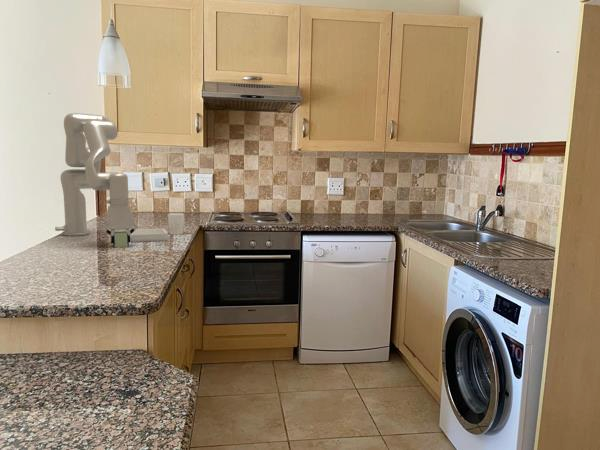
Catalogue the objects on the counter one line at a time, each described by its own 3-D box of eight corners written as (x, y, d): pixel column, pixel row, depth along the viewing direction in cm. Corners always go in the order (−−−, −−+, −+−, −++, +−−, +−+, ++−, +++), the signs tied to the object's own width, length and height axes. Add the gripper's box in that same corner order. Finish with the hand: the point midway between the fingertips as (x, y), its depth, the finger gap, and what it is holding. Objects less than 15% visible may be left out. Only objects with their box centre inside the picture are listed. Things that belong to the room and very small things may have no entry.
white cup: (165, 234, 242) (164, 214, 241) (175, 232, 249) (175, 212, 248) (177, 235, 239) (176, 215, 237) (187, 233, 246) (187, 213, 244)
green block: (115, 247, 206) (114, 233, 205) (114, 245, 211) (113, 231, 210) (127, 246, 208) (127, 232, 207) (126, 244, 213) (126, 231, 212)
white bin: (131, 242, 218) (131, 234, 217) (128, 237, 232) (128, 229, 232) (168, 240, 224) (167, 233, 224) (163, 235, 239) (162, 228, 238)
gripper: (97, 204, 200) (99, 247, 202) (141, 202, 207) (142, 244, 209) (97, 202, 207) (99, 244, 209) (139, 201, 213) (140, 242, 216)
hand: (120, 244), depth 209 cm, fingers closed on green block, 5 cm apart
